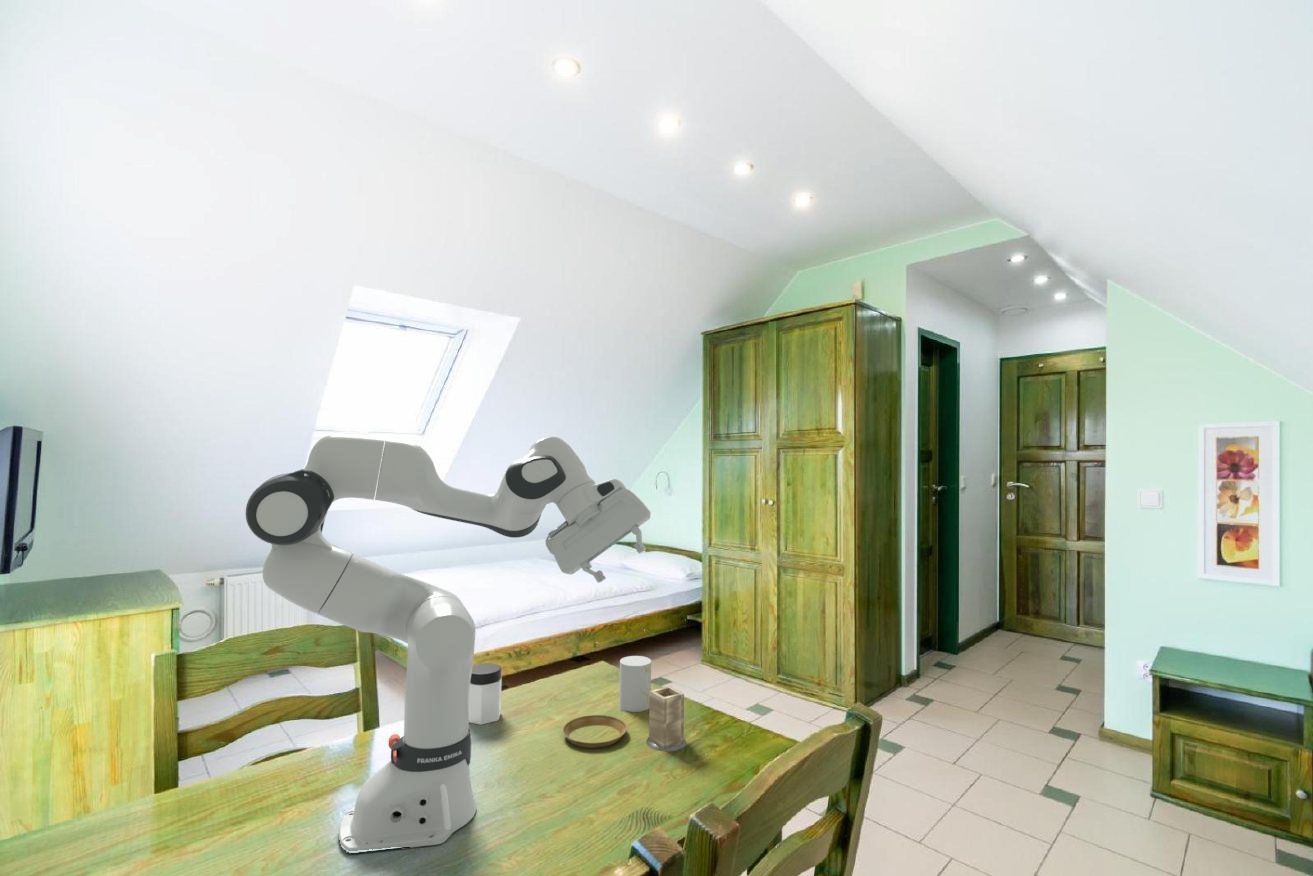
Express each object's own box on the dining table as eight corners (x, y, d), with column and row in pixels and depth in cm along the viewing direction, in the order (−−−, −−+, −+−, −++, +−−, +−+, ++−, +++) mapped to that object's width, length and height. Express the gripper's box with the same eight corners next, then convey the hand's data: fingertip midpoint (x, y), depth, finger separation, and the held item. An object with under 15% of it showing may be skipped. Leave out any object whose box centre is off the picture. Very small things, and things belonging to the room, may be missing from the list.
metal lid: (661, 757, 135) (661, 741, 135) (638, 741, 143) (638, 726, 143) (694, 747, 140) (694, 731, 140) (670, 732, 148) (670, 717, 148)
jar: (494, 708, 161) (495, 660, 161) (507, 718, 154) (508, 669, 155) (459, 716, 155) (460, 667, 156) (471, 728, 149) (472, 676, 149)
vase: (663, 749, 138) (663, 699, 138) (649, 740, 142) (649, 691, 143) (687, 742, 141) (687, 693, 142) (672, 733, 146) (673, 685, 146)
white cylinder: (650, 714, 158) (650, 666, 158) (618, 714, 158) (618, 665, 158) (651, 702, 166) (651, 656, 166) (620, 701, 166) (621, 655, 167)
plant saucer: (624, 755, 137) (624, 743, 137) (557, 754, 137) (557, 742, 137) (628, 726, 152) (628, 715, 152) (567, 725, 152) (567, 714, 152)
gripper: (535, 536, 120) (572, 597, 115) (622, 473, 120) (662, 532, 116) (547, 540, 126) (582, 598, 121) (629, 480, 126) (668, 537, 122)
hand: (622, 566), depth 119 cm, fingers open, 8 cm apart
